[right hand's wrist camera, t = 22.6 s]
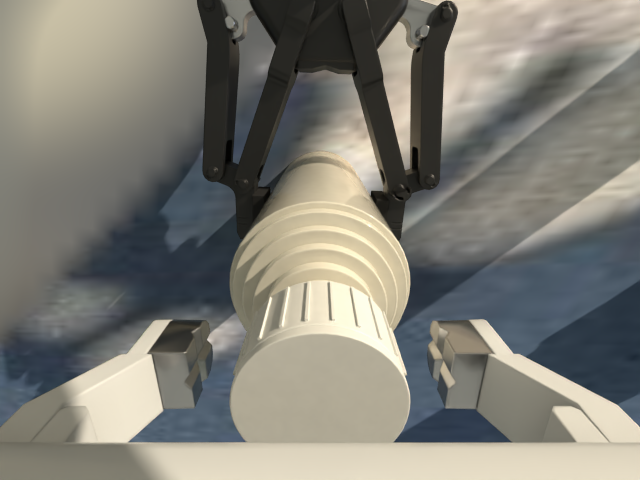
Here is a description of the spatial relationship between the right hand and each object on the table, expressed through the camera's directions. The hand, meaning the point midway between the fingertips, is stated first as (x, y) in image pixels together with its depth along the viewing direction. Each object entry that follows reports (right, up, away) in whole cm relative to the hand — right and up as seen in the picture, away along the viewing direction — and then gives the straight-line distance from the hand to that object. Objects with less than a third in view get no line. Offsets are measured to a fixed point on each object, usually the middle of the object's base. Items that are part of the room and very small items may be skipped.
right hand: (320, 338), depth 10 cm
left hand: (0, 0, +14) cm, 14 cm away
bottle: (0, +7, +19) cm, 20 cm away
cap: (0, -1, -2) cm, 2 cm away
